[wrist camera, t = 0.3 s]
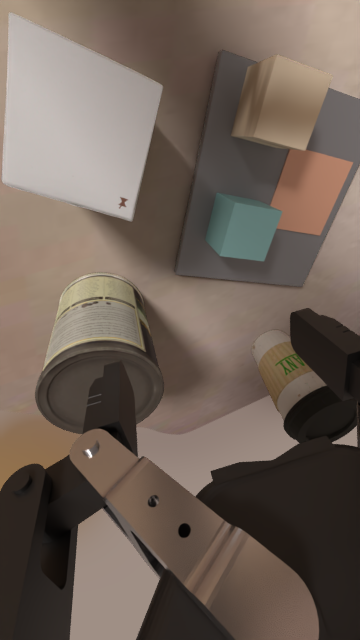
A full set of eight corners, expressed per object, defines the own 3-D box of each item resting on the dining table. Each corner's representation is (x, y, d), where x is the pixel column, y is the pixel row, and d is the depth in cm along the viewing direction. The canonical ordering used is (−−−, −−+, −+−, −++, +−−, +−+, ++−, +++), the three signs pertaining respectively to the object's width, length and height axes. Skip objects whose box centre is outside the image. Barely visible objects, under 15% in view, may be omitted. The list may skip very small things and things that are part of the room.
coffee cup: (309, 336, 46) (383, 411, 34) (265, 376, 49) (318, 456, 37) (274, 309, 41) (346, 384, 29) (228, 354, 44) (276, 440, 32)
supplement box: (142, 104, 25) (170, 85, 14) (122, 192, 28) (133, 227, 18) (51, 62, 22) (5, 1, 12) (41, 164, 25) (-1, 187, 15)
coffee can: (161, 308, 36) (187, 388, 25) (105, 354, 39) (106, 448, 27) (100, 252, 31) (99, 324, 19) (39, 311, 33) (5, 406, 22)
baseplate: (218, 52, 24) (223, 49, 23) (377, 109, 29) (386, 108, 28) (174, 271, 34) (176, 275, 33) (297, 283, 39) (302, 287, 38)
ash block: (247, 67, 24) (277, 53, 20) (296, 84, 25) (333, 75, 21) (230, 135, 26) (253, 136, 22) (276, 147, 28) (305, 150, 24)
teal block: (216, 192, 29) (234, 202, 25) (258, 200, 30) (282, 211, 26) (205, 239, 32) (219, 256, 28) (244, 245, 33) (264, 261, 29)
